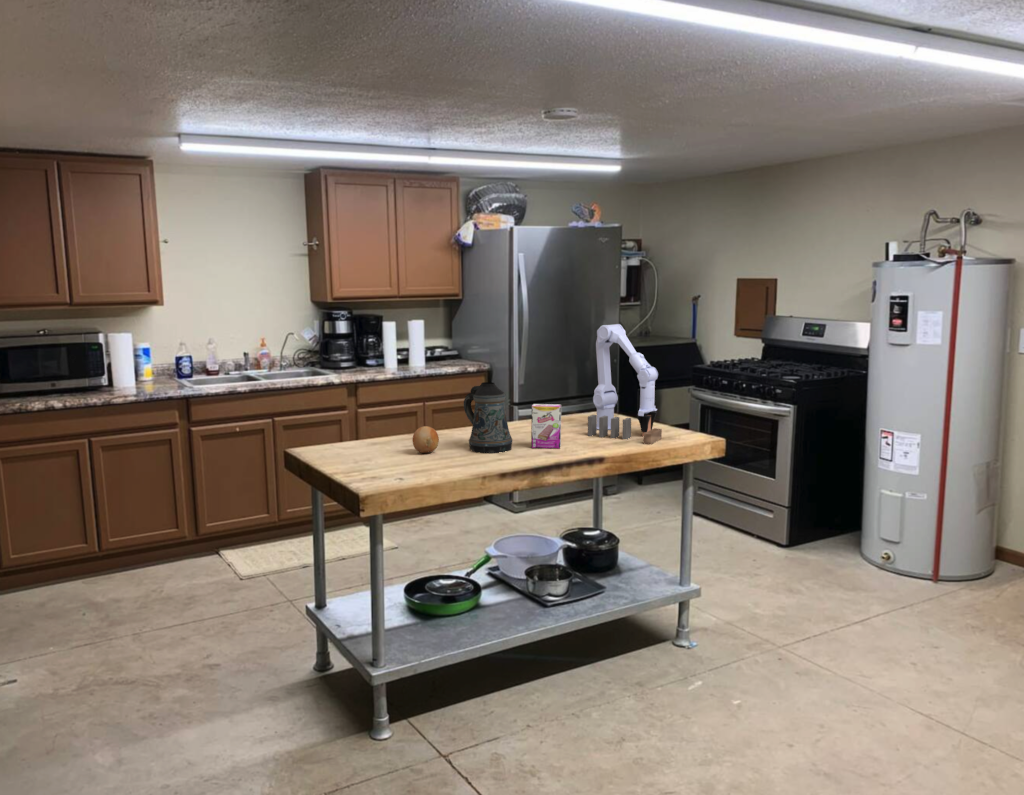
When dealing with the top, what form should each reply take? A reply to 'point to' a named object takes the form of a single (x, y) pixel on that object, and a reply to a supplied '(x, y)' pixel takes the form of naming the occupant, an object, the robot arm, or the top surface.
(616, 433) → the domino
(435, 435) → the onion
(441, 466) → the top surface
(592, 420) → the domino
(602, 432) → the domino
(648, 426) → the domino
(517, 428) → the top surface
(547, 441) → the candy bar box
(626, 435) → the domino
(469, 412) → the beer stein
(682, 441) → the top surface
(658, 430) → the end block
